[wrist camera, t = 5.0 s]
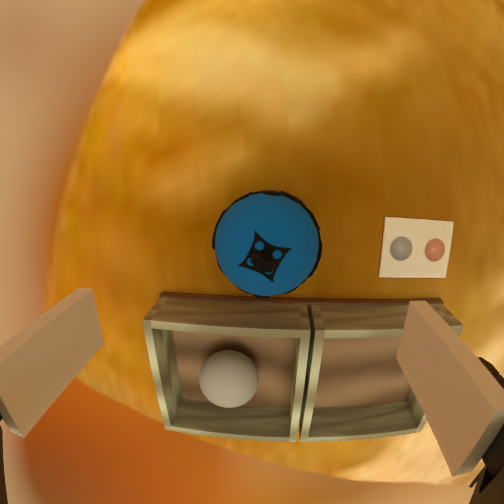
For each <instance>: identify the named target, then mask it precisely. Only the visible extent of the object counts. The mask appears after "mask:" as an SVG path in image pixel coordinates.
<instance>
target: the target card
mask: <svg viewBox="0 0 504 504" xmlns="http://www.w3.org/2000/svg"><path fill="white" fill-rule="evenodd" d="M453 224H454V222H452V221H441V220H428V219H415V218H400V217H384V229H383V240H382V249H381V258H380V266H379V274H378V277H396V278H445V277H446V271H447V266H448V260H449V254H450V247H451V240H452V232H453Z"/></svg>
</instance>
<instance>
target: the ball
mask: <svg viewBox="0 0 504 504" xmlns="http://www.w3.org/2000/svg"><path fill="white" fill-rule="evenodd" d="M199 384H200V387H201V390H202V392H203V394H204V395H205V397H206V398H207V399H208V400H209V401H211V402H212V403H214V404H215V405H218V406H221V407H225V408H233V407H238V406H241V405H243V404H245V403H247V402H248V401H249V400H250V399H251V398H252V397H253V396H254V394H255V393H256V391H257V388H258V384H259V375H258V370H257V368H256V366H255V364H254V363H253V362H252V360H251V359H250V358H249V357H247V356H246V355H244V354H242V353H240V352H237V351H233V350H224V351H220V352H217V353H215V354H213V355H211V356H210V357H209V358H208V359H207V360H206V361H205V362H204V363H203V365H202V367H201V370H200V373H199Z"/></svg>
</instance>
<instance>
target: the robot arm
mask: <svg viewBox="0 0 504 504" xmlns="http://www.w3.org/2000/svg"><path fill="white" fill-rule="evenodd" d="M103 344H104V341H103V337H102V332H101V328H100V323H99V319H98V314H97V309H96V304H95V299H94V293H93V289H86V288H78V289H77V290H76V291H74V292H73V293H71V294H70V295H68V296H67V297H66V298H64V299H63V300H61V301H60V302H59V303H57V304H56V305H54V306H53V307H52V308H50V309H49V310H48V311H46V312H45V313H44V314H42V315H41V316H39V317H38V318H37V319H36V320H34V321H33V322H31V323H30V324H29V325H27V326H26V327H25V328H24V329H22V330H21V331H20V332H19V333H17V334H16V335H14V336H13V337H12V338H11V339H9V340H8V341H7V342H5V343H4V344H3V345H2V346H0V421H1V420H2V419H3V420H4V421H5V423H6V425H7V426H8V428H9V430H10V431H12V432H14V433H16V434H17V435H19V436H21V437H23V438H25V437H26V435H27V434H28V433H29V432H30V430H31V429H32V428H33V427H34V425H35V424H36V423H37V422H38V420H39V419H40V418H41V417H42V416H43V414H44V413H45V412H46V410H47V409H48V408H49V407H50V406H51V405H52V403H53V402H54V401H55V400H56V399H57V397H58V396H59V395H60V394H61V393H62V392H63V390H64V389H65V388H66V387H67V386H68V384H69V383H70V382H71V381H72V380H73V379H74V378H75V376H76V375H77V374H78V373H79V372H80V371H81V369H82V368H83V367H84V366H85V365H86V364H87V363H88V361H89V360H90V359H91V358H92V357H93V356H94V355H95V353H96V352H97V351H98V350H99V349H100V348H101V347H102V346H103ZM396 359H397V361H398V363H399V365H400V367H401V369H402V370H403V372H404V374H405V376H406V378H407V380H408V382H409V384H410V386H411V388H412V390H413V392H414V394H415V396H416V398H417V400H418V402H419V404H420V406H421V408H422V410H423V412H424V414H425V416H426V418H427V420H428V423H429V425H430V427H431V429H432V431H433V433H434V435H435V438H436V440H437V442H438V444H439V446H440V449H441V451H442V453H443V455H444V458H445V460H446V462H447V465H448V467H449V469H450V472H451V474H452V476H453V477H454V476H457V475H460V474H463V473H466V472H469V471H472V470H473V469H474V468H475V466H476V465H477V464H478V462H479V461H480V460H481V458H482V459H483V461H484V463H485V466H484V468H483V469H482V470H481V471H480V473H479V474H478V475H477V476H476V478H475V479H474V480H473V481H472V483H471V484H470V486H469V487H473V485H474V484H475V483H476V482H477V484H476V487H475V490H474V493H473V495H472V498H471V500H470V503H469V504H504V378H503V377H502V376H501V375H499V372H498V371H497V370H496V369H495V367H494V366H493V365H492V364H491V363H489V362H488V361H486V360H485V359H483V358H481V357H477V356H476V355H475V354H474V353H473V352H472V351H471V349H470V348H469V347H468V346H467V345H466V344H465V343H464V341H463V340H462V339H461V338H460V337H459V336H458V335H457V334H456V333H455V331H454V330H453V329H452V328H451V327H450V326H449V325H448V324H447V323H446V322H445V321H444V319H443V318H442V317H441V316H440V315H439V314H438V313H437V312H436V311H435V310H434V309H433V308H432V307H431V306H430V305H429V304H428V303H427V302H426V301H410V302H409V306H408V311H407V316H406V321H405V325H404V329H403V333H402V338H401V342H400V346H399V349H398V353H397V357H396ZM2 442H3V441H2V429H1V426H0V504H8V501H7V494H6V485H5V477H4V464H3V443H2Z"/></svg>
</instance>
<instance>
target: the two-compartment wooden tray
mask: <svg viewBox="0 0 504 504" xmlns="http://www.w3.org/2000/svg"><path fill="white" fill-rule="evenodd" d="M410 301H426V302H427V303H428V304H429V305H430V306H431V307H432V308H433V309H434V310H435V311H436V312H437V313H438V314H439V315H440V316H441V317H442V318H443V319H444V321H445V322H446V323H447V324H448V325H449V326H450V327H451V328H452V329H453V330H454V331H455V333H456V334H457V335H458V336H460V333H461V330H462V326H463V325H462V324H461V323H460V322H459V321H458V320H457V319H456V318H455V317H454V315H453V314H452V313H451V312H450V311H449V310H448V309H447V308H446V307H445V306H444V305H443V301H442V300H441V299H440V298H431V299H304V298H270V297H269V298H257V297H244V296H223V295H205V294H188V293H173V292H162V293H161V294H160V300H159V301H158V302H157V303H156V304H155V305H154V307H153V308H152V309H151V310H150V311H149V312H148V314H147V315H146V316H145V317H144V318H143V319H142V320H143V326H144V332H145V338H146V344H147V349H148V355H149V360H150V365H151V370H152V375H153V379H154V384H155V389H156V393H157V397H158V402H159V406H160V410H161V414H162V418H163V422H164V426H165V429H166V430H172V431H178V432H184V433H190V434H197V435H204V436H212V437H221V438H230V439H242V440H256V441H277V442H296V439H297V433H298V427H299V433H300V442H326V441H346V440H360V439H371V438H381V437H389V436H397V435H404V434H410V433H416V432H421V431H422V429H423V427H424V425H425V423H426V421H427V418H426V416H425V414H424V412H423V410H422V408H421V406H420V404H419V402H418V400H417V398H416V396H415V394H414V392H413V390H412V388H411V386H410V384H409V382H408V380H407V378H406V376H405V374H404V372H403V370H402V369H401V367H400V365H399V363H398V361H397V359H396V357H397V353H398V349H399V346H400V342H401V338H402V333H403V329H404V325H405V321H406V316H407V311H408V306H409V302H410ZM224 350H233V351H237V352H240V353H242V354H244V355H246V356H247V357H249V358H250V359H251V360H252V362H253V363H254V364H255V366H256V368H257V370H258V375H259V384H258V388H257V391H256V393H255V394H254V396H253V397H252V398H251V399H250V400H249V401H248V402H247V403H245V404H243V405H241V406H238V407H233V408H225V407H221V406H218V405H215V404H214V403H212V402H211V401H209V400H208V399H207V398H206V397H205V395H204V394H203V392H202V390H201V387H200V384H199V373H200V370H201V367H202V365H203V363H204V362H205V361H206V360H207V359H208V358H209V357H210V356H211V355H213V354H215V353H217V352H220V351H224Z"/></svg>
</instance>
